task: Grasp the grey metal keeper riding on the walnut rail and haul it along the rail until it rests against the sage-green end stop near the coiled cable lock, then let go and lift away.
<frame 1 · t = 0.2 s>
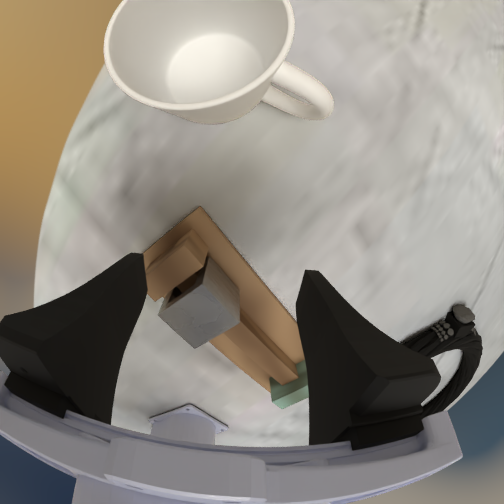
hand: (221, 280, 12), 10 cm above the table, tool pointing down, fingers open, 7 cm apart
cup: (236, 85, 18), on the table
keeper: (201, 301, 21), point 3 cm above the table, slide at 5.5 cm
rail: (243, 321, 25), on the table
cable lock: (413, 381, 33), on the table
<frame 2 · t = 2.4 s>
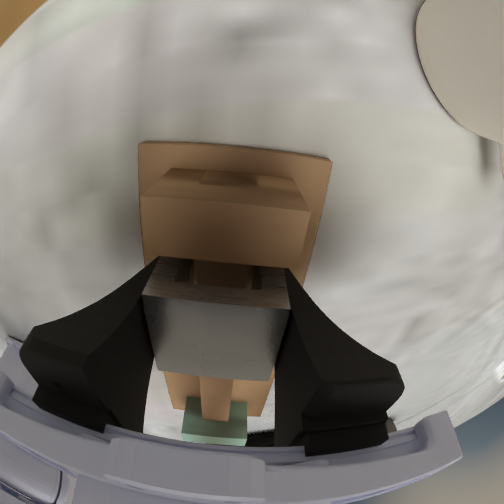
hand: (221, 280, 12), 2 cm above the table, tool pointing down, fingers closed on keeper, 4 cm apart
cup: (474, 94, 8), on the table
keeper: (218, 302, 11), point 3 cm above the table, slide at 5.5 cm, touching gripper
rail: (220, 333, 16), on the table
cable lock: (296, 450, 32), on the table
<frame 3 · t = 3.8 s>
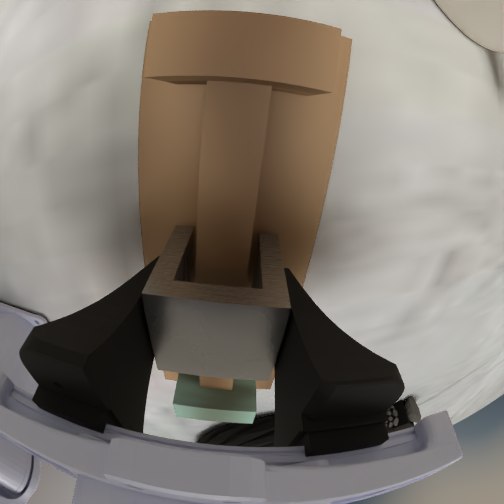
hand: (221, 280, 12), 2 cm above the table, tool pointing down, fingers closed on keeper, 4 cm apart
cup: (475, 18, 6), on the table
keeper: (219, 301, 11), point 3 cm above the table, slide at 0.0 cm, touching gripper
rail: (224, 258, 13), on the table
cable lock: (307, 439, 29), on the table
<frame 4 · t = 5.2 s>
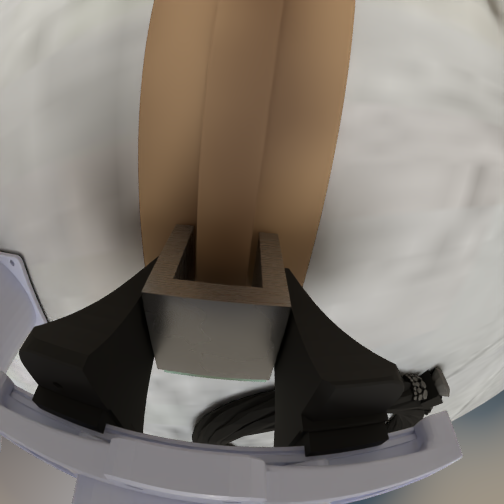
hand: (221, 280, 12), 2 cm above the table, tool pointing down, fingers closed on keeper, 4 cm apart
keeper: (219, 300, 11), point 3 cm above the table, slide at -5.6 cm, touching gripper
rail: (235, 141, 10), on the table
cable lock: (320, 424, 26), on the table
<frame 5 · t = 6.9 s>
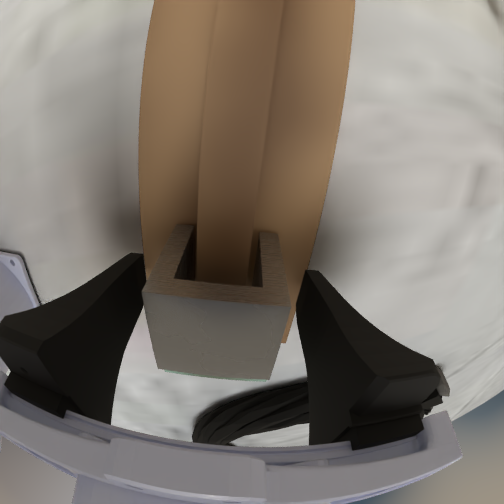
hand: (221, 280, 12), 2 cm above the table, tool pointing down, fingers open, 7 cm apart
keeper: (219, 300, 11), point 3 cm above the table, slide at -5.6 cm
rail: (235, 141, 10), on the table
cable lock: (320, 424, 26), on the table
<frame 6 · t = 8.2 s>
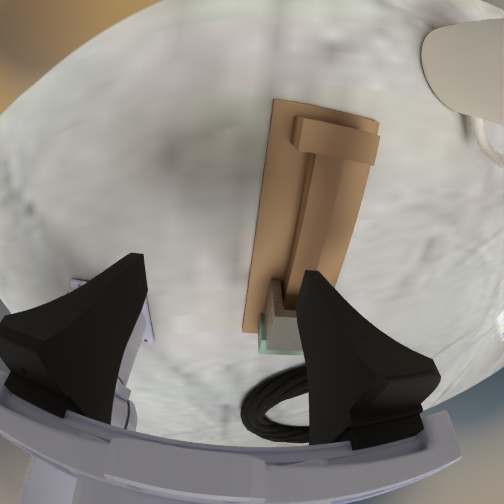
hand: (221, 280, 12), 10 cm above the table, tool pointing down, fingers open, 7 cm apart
cup: (456, 89, 15), on the table
keeper: (294, 315, 23), point 3 cm above the table, slide at -5.6 cm
rail: (302, 240, 23), on the table
cable lock: (331, 397, 38), on the table
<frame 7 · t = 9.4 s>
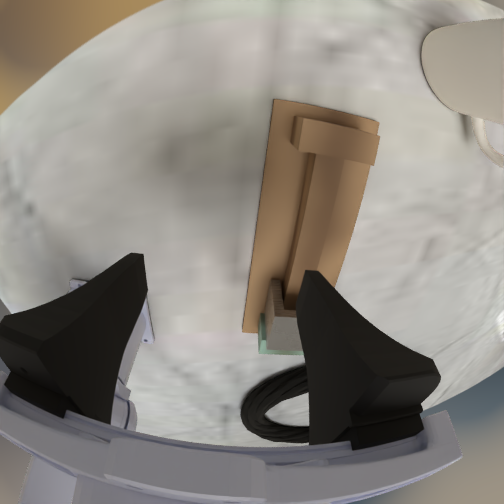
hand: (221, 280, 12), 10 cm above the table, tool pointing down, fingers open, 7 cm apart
cup: (456, 89, 15), on the table
keeper: (294, 315, 23), point 3 cm above the table, slide at -5.6 cm
rail: (302, 240, 23), on the table
cable lock: (331, 397, 38), on the table
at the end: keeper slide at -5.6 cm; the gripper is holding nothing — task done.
